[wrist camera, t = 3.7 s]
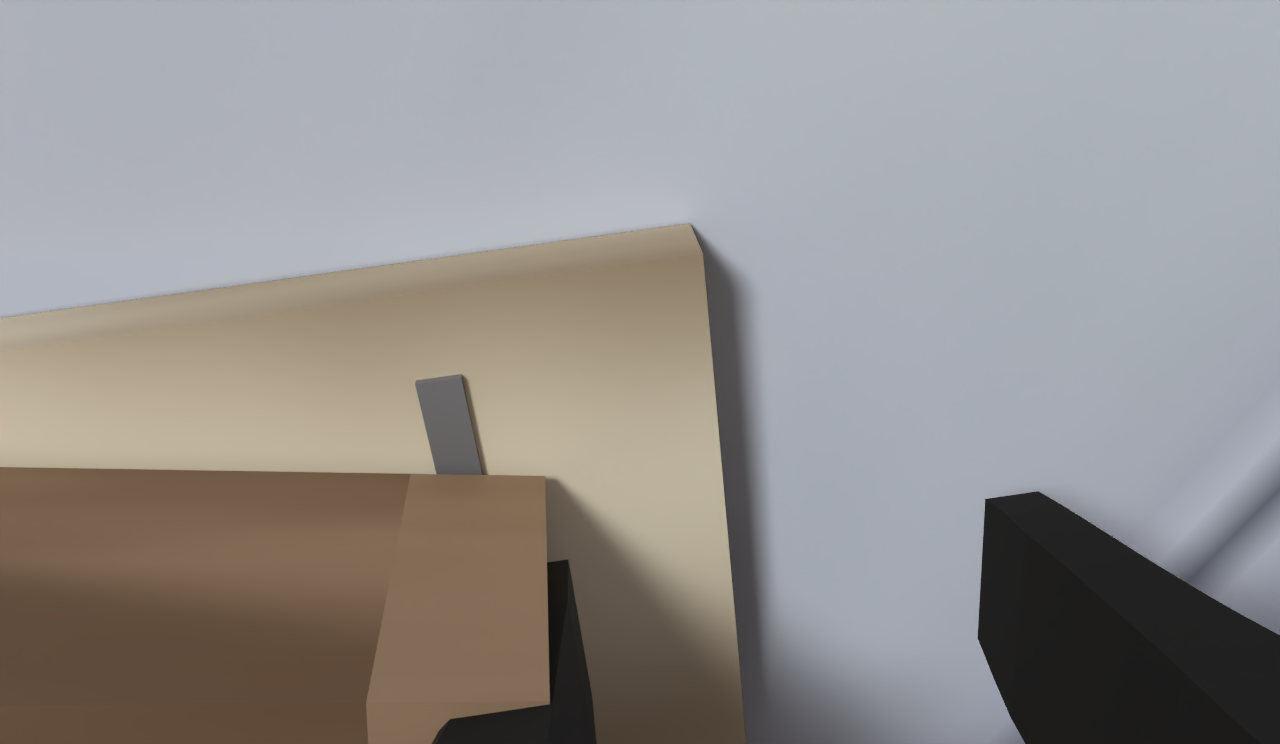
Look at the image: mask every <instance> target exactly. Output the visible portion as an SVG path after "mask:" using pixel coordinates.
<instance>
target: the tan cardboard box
mask: <svg viewBox="0 0 1280 744" xmlns="http://www.w3.org/2000/svg"><path fill="white" fill-rule="evenodd" d="M548 704H550V684H549V635H548V587H547V538H546V490H545V476H512V475H451V474H390V473H329V472H268V471H207V470H146V469H85V468H24V467H0V744H432V742H433V740H434V739H435V737H436V735H437V733H438V732H439V730H440V729H441V728H442V727H443V726H444V725H445V724H446V723H447V722H448V721H449V720H450V719H454V718H461V717H467V716H474V715H481V714H488V713H495V712H501V711H508V710H515V709H521V708H528V707H535V706H541V705H548Z"/></svg>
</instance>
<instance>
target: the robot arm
mask: <svg viewBox="0 0 1280 744" xmlns="http://www.w3.org/2000/svg"><path fill="white" fill-rule="evenodd" d="M547 587H548V635H549V684H550V704H548V705H541V706H535V707H528V708H521V709H515V710H508V711H501V712H495V713H488V714H481V715H474V716H467V717H461V718H454V719H450V720H449V721H448V722H447V723H446V724H445V725H444V726H443V727H442V728H441V729H440V730H439V732H438V733H437V735H436V737H435V739H434V740H433V742H432V744H597V743H596V732H595V722H594V711H593V701H592V693H591V687H590V681H589V675H588V669H587V664H586V658H585V652H584V646H583V641H582V635H581V629H580V623H579V617H578V612H577V606H576V600H575V594H574V589H573V583H572V577H571V571H570V566H569V560H568V559H567V560H560V561H554V562H547ZM978 640H979V642H980V645H981V647H982V650H983V652H984V655H985V657H986V660H987V662H988V665H989V667H990V670H991V672H992V675H993V677H994V680H995V682H996V684H997V687H998V689H999V691H1000V694H1001V696H1002V698H1003V700H1004V703H1005V705H1006V707H1007V710H1008V712H1009V714H1010V717H1011V719H1012V720H1013V722H1014V724H1015V726H1016V728H1017V729H1018V731H1019V733H1020V735H1021V737H1022V738H1023V740H1024V742H1025V744H1280V635H1278V634H1276V633H1274V632H1272V631H1270V630H1269V629H1267V628H1265V627H1263V626H1261V625H1259V624H1257V623H1256V622H1254V621H1252V620H1250V619H1248V618H1246V617H1244V616H1243V615H1241V614H1239V613H1237V612H1236V611H1234V610H1232V609H1230V608H1229V607H1227V606H1225V605H1223V604H1222V603H1220V602H1218V601H1216V600H1215V599H1213V598H1211V597H1209V596H1208V595H1206V594H1204V593H1203V592H1201V591H1199V590H1198V589H1196V588H1194V587H1192V586H1191V585H1189V584H1187V583H1186V582H1184V581H1182V580H1181V579H1179V578H1177V577H1176V576H1174V575H1173V574H1171V573H1169V572H1168V571H1166V570H1164V569H1163V568H1161V567H1159V566H1158V565H1156V564H1155V563H1153V562H1151V561H1150V560H1148V559H1147V558H1145V557H1143V556H1142V555H1140V554H1138V553H1137V552H1135V551H1134V550H1132V549H1131V548H1129V547H1127V546H1126V545H1124V544H1123V543H1121V542H1119V541H1118V540H1116V539H1115V538H1113V537H1112V536H1110V535H1108V534H1107V533H1105V532H1104V531H1102V530H1100V529H1099V528H1097V527H1096V526H1094V525H1093V524H1091V523H1089V522H1088V521H1086V520H1085V519H1083V518H1081V517H1080V516H1078V515H1077V514H1075V513H1074V512H1072V511H1070V510H1069V509H1067V508H1065V507H1064V506H1062V505H1061V504H1059V503H1057V502H1056V501H1054V500H1052V499H1051V498H1049V497H1047V496H1045V495H1044V494H1042V493H1040V492H1032V493H1025V494H1018V495H1011V496H1004V497H997V498H990V499H985V517H984V536H983V554H982V572H981V590H980V608H979V626H978Z"/></svg>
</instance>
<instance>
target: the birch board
mask: <svg viewBox="0 0 1280 744" xmlns="http://www.w3.org/2000/svg"><path fill="white" fill-rule="evenodd" d="M0 467H24V468H85V469H146V470H207V471H268V472H329V473H390V474H451V475H512V476H545V490H546V538H547V562H554V561H560V560H567V559H568V560H569V566H570V571H571V577H572V583H573V589H574V594H575V600H576V606H577V612H578V617H579V623H580V629H581V635H582V641H583V646H584V652H585V658H586V664H587V669H588V675H589V681H590V687H591V693H592V701H593V711H594V722H595V732H596V743H597V744H746V732H745V721H744V710H743V699H742V687H741V676H740V665H739V654H738V642H737V631H736V620H735V609H734V597H733V586H732V575H731V564H730V552H729V541H728V530H727V519H726V507H725V496H724V485H723V474H722V462H721V451H720V440H719V429H718V417H717V406H716V395H715V384H714V372H713V361H712V350H711V339H710V327H709V316H708V305H707V294H706V282H705V271H704V260H703V253H702V250H701V248H700V245H699V243H698V241H697V238H696V236H695V234H694V231H693V229H692V226H691V224H690V223H689V224H681V225H674V226H667V227H659V228H652V229H645V230H638V231H630V232H623V233H616V234H609V235H601V236H594V237H587V238H580V239H572V240H565V241H558V242H550V243H543V244H536V245H529V246H521V247H514V248H507V249H500V250H492V251H485V252H478V253H471V254H463V255H456V256H449V257H441V258H434V259H427V260H420V261H412V262H405V263H398V264H391V265H383V266H376V267H369V268H362V269H354V270H347V271H340V272H332V273H325V274H318V275H311V276H303V277H296V278H289V279H282V280H274V281H267V282H260V283H253V284H245V285H238V286H231V287H223V288H216V289H209V290H202V291H194V292H187V293H180V294H173V295H165V296H158V297H151V298H144V299H136V300H129V301H122V302H114V303H107V304H100V305H93V306H85V307H78V308H71V309H64V310H56V311H49V312H42V313H35V314H27V315H20V316H13V317H5V318H0Z"/></svg>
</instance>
